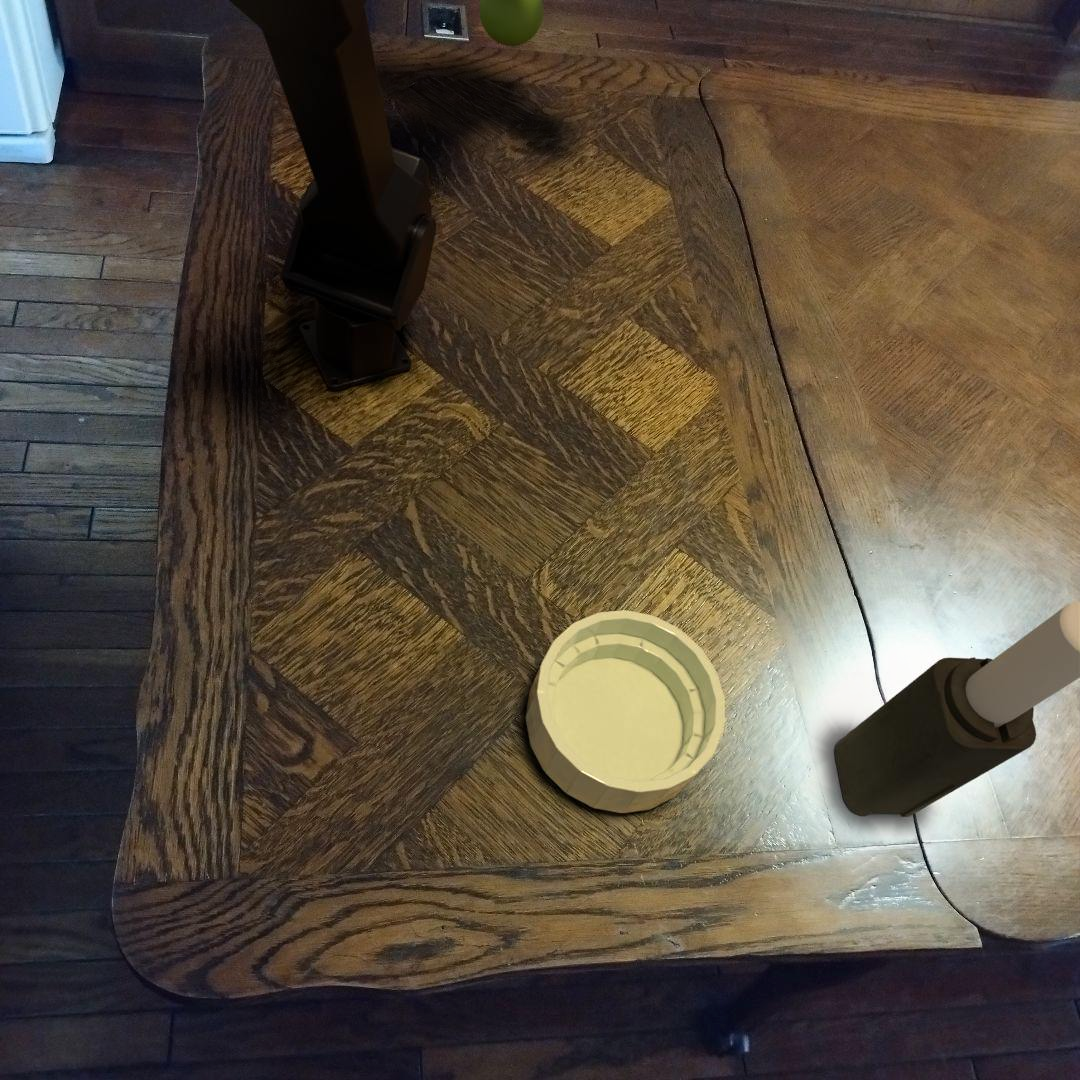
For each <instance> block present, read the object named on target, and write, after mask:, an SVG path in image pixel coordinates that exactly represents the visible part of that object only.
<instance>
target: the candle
mask: <svg viewBox="0 0 1080 1080" xmlns="http://www.w3.org/2000/svg"><path fill="white" fill-rule="evenodd" d="M1078 679H1080V600H1075V601H1073V602H1070V603H1067V604H1066V605H1065V606H1063V607H1062V608H1060V609H1059V610H1058V611H1057V612H1055V613H1054V614H1052V615H1051V616H1050V617H1049V618H1047V619H1046V620H1044V621H1043V622H1042V623H1041V624H1039V625H1037V626H1036V627H1035V628H1033V629H1032V630H1031V631H1029V633H1027V634H1025V635H1024V636H1023V637H1022V638H1020V639H1019V640H1017V641H1016V642H1014V643H1013V644H1012V645H1011V646H1009V647H1008V648H1006V649H1005V650H1004V651H1002V652H1001V653H1000V654H998V655H997V656H995V658H989V657H985V658H976V657H969V658H968V657H942V658H940V659H938V660H937V661H936V662H934V663H933V664H932V665H931V666H929V668H927V669H925V671H924V672H922V673H921V674H920V675H918V677H916V678H915V679H914V680H912V681H911V682H910V683H908V685H906V686H905V687H904V688H902V689H901V690H900V691H899V692H898V693H896V694H895V695H894V696H892V697H891V698H890V699H889V700H888V701H886V702H885V703H884V704H883V705H881V706H880V707H879V708H878V709H877V710H875V711H874V712H872V713H871V714H870V715H869V716H868V717H867V718H865V719H864V720H863V721H861V722H860V723H859V724H858V725H856V726H855V727H853V729H852V730H850V731H849V732H848V733H847V734H846V735H844V736H843V737H842V738H840V739H839V740H838V741H837V742H836V744H835V746H834V758H835V764H836V769H837V774H838V778H839V784H840V788H841V795H842V798H843V801H844V804H845V805H846V807H847V808H848V809H849V810H850V811H851V812H852V813H854V814H855V815H857V816H860V817H867V816H868V815H870V814H893V815H895V814H897V815H899V814H900V815H901V816H902V817H904V818H905V817H910V816H912V815H914V814H916V813H918V812H920V811H922V810H923V809H925V808H927V807H928V806H930V805H932V804H934V803H935V802H937V801H939V800H941V799H943V798H944V797H945V796H948V795H949V794H951V793H953V792H955V791H956V790H958V789H960V788H962V787H964V786H966V785H967V784H969V783H971V782H972V781H974V780H975V779H977V778H979V777H981V776H983V775H984V774H986V773H988V772H989V771H991V770H993V769H994V768H995V769H996V767H998V766H1000V765H1001V764H1003V763H1005V762H1007V761H1009V760H1011V759H1012V758H1014V757H1016V756H1017V755H1019V754H1021V753H1023V752H1024V751H1027V750H1028V749H1030V748H1031V747H1032V746H1033V745H1034V744H1035V741H1036V740H1037V739H1036V738H1037V730H1036V726H1035V723H1034V711H1035V708H1034V707H1036V706H1037V705H1039V704H1040V703H1042V702H1043V701H1045V700H1047V699H1049V698H1050V697H1051V696H1053V695H1055V694H1056V693H1058V692H1059V691H1061V690H1062V689H1065V688H1066V687H1067V686H1069V685H1071V684H1072V683H1074V682H1076V681H1077V680H1078Z"/></svg>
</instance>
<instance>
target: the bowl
mask: <svg viewBox="0 0 1080 1080" xmlns="http://www.w3.org/2000/svg"><path fill="white" fill-rule="evenodd" d="M725 719H726V698H725V694H724V692H723V688H722V684H721V681H720V677H719V674H718V672H717V670H716V668H715V667H714V665H713V664H712V662H711V661H710V659H709V657H708V655H707V654H706V653H705V651H704V650H703V648H702V647H701V646H700V645H699V644H698V643H696V642H695V641H694V640H693V639H692V638H691V637H690V636H689V635H687V634H686V633H685V632H684V630H682V629H680V628H679V627H677V626H675V625H673V624H671V623H670V622H667V621H665V620H663V619H662V618H660V617H657V616H655V615H652V614H648V613H643V612H637V611H633V610H628V609H623V610H612V611H600V612H596V613H593V614H591V615H589V616H586V617H584V618H582V619H579V620H577V621H574V622H573V623H571V624H570V625H569V626H568V627H567V628H566V629H565V630H563V632H562V633H560V634H559V635H558V636H556V637H555V639H554V640H553V641H552V642H551V644H550V646H549V648H548V650H547V652H546V654H545V656H544V658H543V660H542V661H541V663H540V665H539V668H538V670H537V673H536V675H535V677H534V681H533V682H532V685H531V688H530V690H529V693H528V699H527V707H526V711H525V721H526V727H527V728H526V729H527V734H528V738H529V739H528V740H529V745H530V747H531V749H532V751H533V753H534V755H535V757H536V759H537V761H538V763H539V764H540V767H541V769H542V770H543V772H545V774H546V775H547V776H548V777H549V778H550V779H551V780H552V781H553V782H554V783H555V784H556V785H557V786H558V787H559V789H561V790H562V791H563V792H564V793H566V794H567V795H568V796H570V797H572V798H574V799H575V800H577V801H580V802H581V803H583V804H585V805H587V806H589V807H591V808H593V809H598V810H604V811H608V812H614V813H618V814H627V813H634V812H640V811H641V812H642V811H648V810H649V811H650V810H652V809H654V808H656V807H658V806H659V805H661V804H664V803H666V802H667V801H669V800H671V799H673V798H675V797H676V796H677V795H678V794H679V793H680V792H681V791H682V790H683V789H684V788H686V786H687V785H688V784H689V783H690V781H692V780H693V778H695V776H696V775H697V774H698V773H700V771H701V770H702V769H703V768H704V767H705V766H706V764H708V762H709V761H710V760H711V759H712V758H713V757H714V755H715V754H716V751H717V749H718V746H719V744H720V742H721V740H722V739H721V738H722V736H723V734H724V732H725Z"/></svg>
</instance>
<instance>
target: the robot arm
mask: <svg viewBox="0 0 1080 1080" xmlns="http://www.w3.org/2000/svg"><path fill="white" fill-rule="evenodd" d="M228 1H229V2H230V3H231V4H232V5H233V6H234V7H236V8H237V9H238V10H239V11H240V12H242V14H244V15H245V16H246V17H247V18H248V19H249V20H251V21H252V23H254V24H255V25H256V26H258V27H259V29H260V30H261V32H262V35H263V37H264V40H265V43H266V46H267V49H268V52H269V54H270V57H271V60H272V62H273V65H274V68H275V72H276V74H277V77H278V80H279V83H280V86H281V89H282V92H283V94H284V98H285V100H286V103H287V106H288V109H289V111H290V114H291V117H292V120H293V123H294V126H295V128H296V131H297V134H298V137H299V140H300V143H301V145H302V148H303V151H304V155H305V156H306V160H307V163H308V166H309V168H310V171H311V174H312V177H313V178H312V179H311V181H310V182H309V184H308V185H307V187H306V189H305V192H304V193H303V194H302V195H301V196H300V200H299V203H298V208H297V212H296V216H295V221H294V225H293V229H292V233H291V237H290V242H289V244H288V245H289V246H288V249H287V252H286V256H285V260H284V263H283V267H282V269H281V273H280V279H281V281H282V283H283V286H284V288H285V290H286V291H289V292H292V293H295V292H296V293H299V294H301V295H303V296H307V297H309V298H311V299H314V316H315V319H313V320H309V321H305V322H302V323H301V324H300V325H299V334H300V335H301V337H302V339H303V341H304V343H305V345H306V347H307V349H308V351H309V353H310V354H311V355H310V356H312V358H313V360H314V363H315V364H316V366H317V369H318V370H319V372H320V374H321V376H322V377H323V380H324V381H325V383H326V386H327V387H328V388H329V389H330V390H331V391H340V390H343V389H347V388H350V387H353V386H357V385H360V384H364V383H367V382H368V383H369V382H371V381H374V380H378V379H382V378H385V377H388V376H392V375H395V374H399V373H403V372H405V371H406V372H407V371H408V370H410V369H411V368H412V364H413V363H412V359H411V358H410V356H409V353H407V351H406V349H405V347H404V345H403V344H402V342H401V340H400V338H399V336H398V335H397V333H396V331H398V332H400V331H401V330H402V328H403V326H404V325H405V323H406V321H407V319H408V317H409V316H410V314H411V313H412V311H413V309H414V307H415V306H416V303H417V302H418V300H419V298H420V296H421V295H422V293H423V291H424V289H425V285H426V281H427V276H428V271H429V266H430V261H431V257H432V252H433V249H434V248H433V247H434V243H435V237H436V233H437V219H436V218H434V217H432V216H433V214H432V209H433V207H432V203H431V201H430V198H431V197H432V196H433V192H434V191H433V189H431V186H430V180H429V179H430V177H429V176H430V175H429V167H428V164H426V161H425V160H424V159H423V158H422V157H421V156H420V157H419V156H417V155H414V154H412V153H411V154H410V153H409V152H405V151H403V150H400V149H397V148H394V147H393V146H392V141H391V136H390V131H389V125H388V121H387V117H386V112H385V111H386V110H385V105H384V100H383V95H382V90H381V85H380V81H379V74H378V70H377V64H376V59H375V54H374V49H373V45H372V40H371V33H370V29H369V24H368V19H367V14H366V8H365V5H366V3H367V1H368V0H228Z"/></svg>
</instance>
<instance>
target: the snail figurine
mask: <svg viewBox="0 0 1080 1080" xmlns="http://www.w3.org/2000/svg"><path fill="white" fill-rule="evenodd" d="M478 8H479V11H478V12H479V19H480V22H481V25H482V27H483V29H484V31H485V33H486V34H487V35H488V36H489V37H490V39H492V40H493V41H495V42H496V43H498V44H500V45H502V46H507V47H519V46H521V45H524V44H526V43H528V42H530V40H532V39H533V38H534V37H535V36H536V34H537V32H538V31H540V28H541V26H542V22H543V17H544V2H543V0H479V7H478Z"/></svg>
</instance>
